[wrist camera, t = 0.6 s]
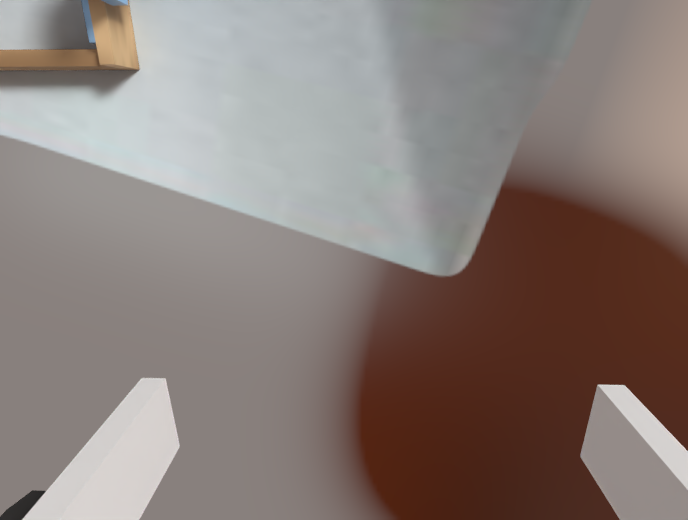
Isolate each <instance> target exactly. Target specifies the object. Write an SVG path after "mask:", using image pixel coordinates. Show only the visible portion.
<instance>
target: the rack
mask: <svg viewBox="0 0 688 520" xmlns="http://www.w3.org/2000/svg"><path fill="white" fill-rule="evenodd" d="M81 2H82V7H83V12H84V18H85V23H86V28H87V33H88V38H89V43H93V44H96V47H97V49H54V50H0V70H139V63H138V57H137V50H136V44H135V38H134V31H133V25H132V19H131V12H130V6H129V0H128V5H116V6H112V5H110V4H108V3H106V2H104V1H101V0H81Z"/></svg>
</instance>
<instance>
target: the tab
mask: <svg viewBox="0 0 688 520" xmlns="http://www.w3.org/2000/svg"><path fill="white" fill-rule="evenodd" d="M101 1H104V2H106V3H108V4H110V5H112V6H116V5H128V0H101Z"/></svg>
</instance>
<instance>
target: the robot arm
mask: <svg viewBox="0 0 688 520" xmlns="http://www.w3.org/2000/svg"><path fill="white" fill-rule="evenodd" d="M179 447H180V445H179V440H178V435H177V431H176V426H175V421H174V416H173V411H172V407H171V402H170V397H169V393H168V388H167V383H166V379H165V378H141V380H140V381H139V382H138V383H137V384H136V385H135V387H134V388H133V389H132V390H131V391H130V393H129V394H128V395H127V396H126V397H125V399H124V400H123V401H122V402H121V403H120V404H119V406H118V407H117V408H116V409H115V410H114V412H113V413H112V414H111V415H110V416H109V417H108V419H107V420H106V421H105V422H104V423H103V425H102V426H101V427H100V428H99V429H98V431H97V432H96V433H95V434H94V435H93V436H92V438H91V439H90V440H89V441H88V442H87V444H86V445H85V446H84V447H83V448H82V449H81V451H80V452H79V453H78V454H77V455H76V457H75V458H74V459H73V460H72V461H71V463H70V464H69V465H68V466H67V467H66V468H65V470H64V471H63V472H62V473H61V474H60V476H59V477H58V478H57V479H56V480H55V481H54V483H53V484H52V485H51V486H50V487H49V488H48V490H47V491H31V492H30V493H29V494H27V495H26V496H25V497H23V498H22V499H21V500H19V501H18V502H17V503H16V504H14V505H13V506H11V507H10V508H9V509H7V510H6V511H5V512H4V513H3V514H2V516H1V517H0V520H139V519H140V517H141V515H142V514H143V512H144V510H145V508H146V506H147V505H148V503H149V501H150V499H151V497H152V496H153V494H154V492H155V490H156V488H157V487H158V485H159V483H160V481H161V479H162V477H163V476H164V474H165V472H166V470H167V468H168V467H169V465H170V463H171V461H172V459H173V458H174V456H175V454H176V452H177V451H178V449H179ZM580 457H581V458H582V460H583V461H584V463H585V465H586V466H587V467H588V469H589V471H590V472H591V474H592V475H593V477H594V479H595V480H596V482H597V484H598V485H599V487H600V488H601V490H602V492H603V493H604V495H605V496H606V498H607V500H608V501H609V503H610V504H611V506H612V507H613V509H614V511H615V512H616V514H617V515H618V517H619V519H620V520H688V451H687V450H686V449H685V448H684V447H683V446H682V445H681V444H680V443H679V442H678V441H677V440H676V439H675V438H674V437H673V436H672V435H671V434H670V432H668V430H666V428H665V427H664V426H663V425H662V424H661V423H660V422H659V421H658V420H657V419H656V418H655V417H654V416H653V415H652V414H651V413H650V412H649V411H648V409H647V408H646V407H645V406H644V405H643V404H642V403H641V402H640V401H639V400H638V399H637V398H636V397H635V396H634V395H633V394H632V393H631V392H630V391H629V390H628V388H627V387H625V385H597V389H596V394H595V398H594V402H593V406H592V410H591V414H590V418H589V423H588V427H587V431H586V435H585V439H584V443H583V447H582V452H581V455H580Z"/></svg>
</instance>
